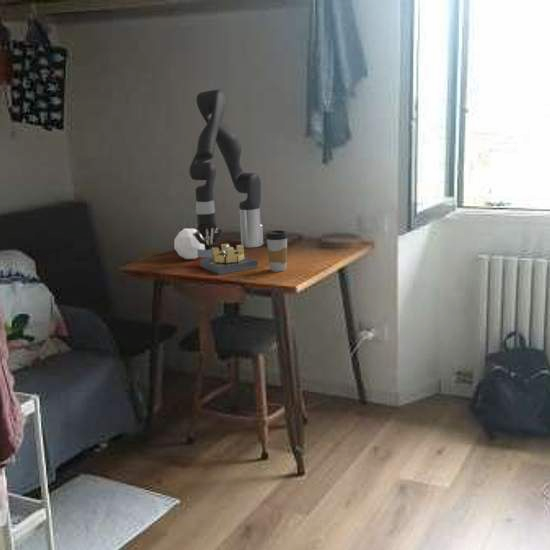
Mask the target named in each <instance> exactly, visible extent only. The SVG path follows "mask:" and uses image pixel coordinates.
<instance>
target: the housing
mask: <svg viewBox="0 0 550 550" xmlns="http://www.w3.org/2000/svg"><path fill="white" fill-rule="evenodd" d="M229 248H233V249H234V247H233V246H229V247H223V248H222V247H221V251H223V256H227V255H226V249H229ZM258 265H259V264H258V260H257V259H254V258H251V257H249V256H246V255H245V259H244V260H242V261H239V262H232V263H218V262H214V261H213V260H212V259H211V258H202V259H200V268H202V269H205V270H208V271H210V272H212V273H215V274H217V275H219V274H220V275H224V274H230V272H231V273H237V272H240V271H242V270H243V271H247V270H252V269H258V267H259V266H258ZM236 271H237V272H236Z"/></svg>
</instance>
